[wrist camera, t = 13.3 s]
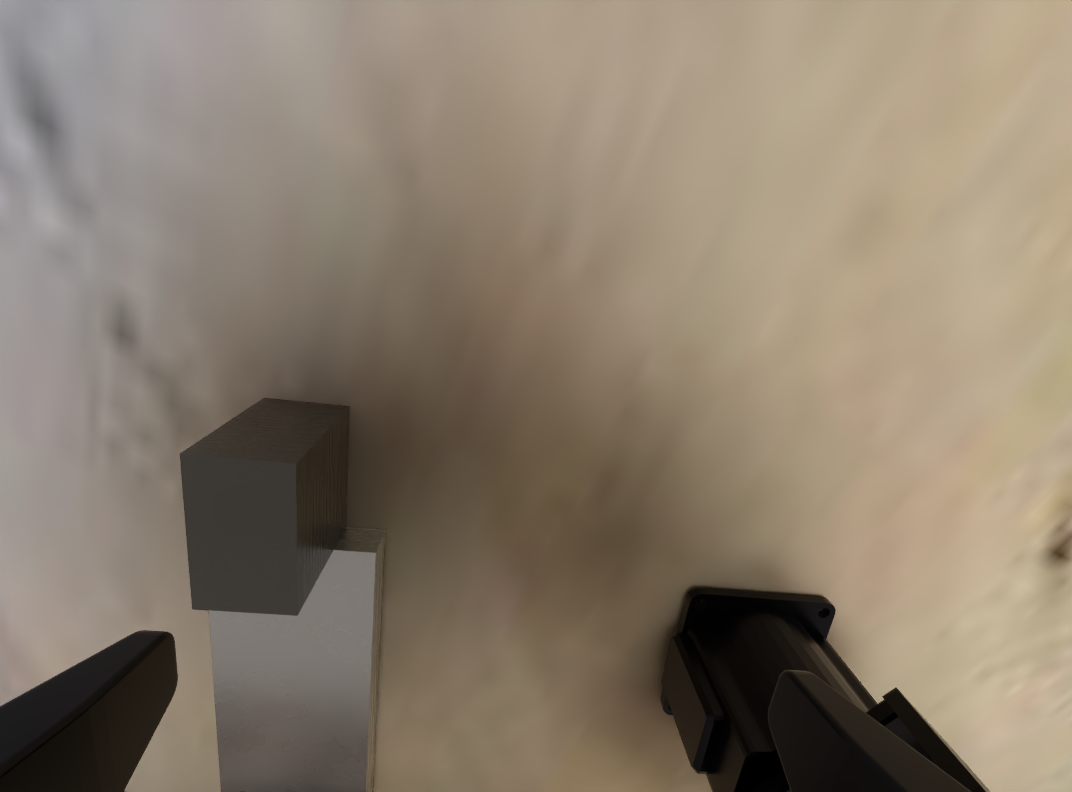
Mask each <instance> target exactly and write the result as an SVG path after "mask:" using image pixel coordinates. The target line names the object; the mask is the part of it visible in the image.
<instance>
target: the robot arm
mask: <svg viewBox="0 0 1072 792" xmlns="http://www.w3.org/2000/svg"><path fill="white" fill-rule="evenodd" d="M699 599H703V600H702V601H701V602H698V603H696V601H697V600H699ZM821 609H823V610H821ZM820 610H821V611H820ZM834 615H835V607H834V606H833V605H832V604H831V603H830V601H829V600H828V599H826V598H824V597H815V596H802V595H789V594H776V593H763V592H750V591H736V590H723V589H710V588H695V589H693V590H691V591H690V592H689V593H688V594H687V596H686V600H685V604H684V608H683V612H682V616H681V620H680V624H679V628H678V632H677V633H676V634H675V635H674V636H673V637H672V641H671V644H670V648H669V652H668V656H667V660H666V664H665V668H664V672H663V676H662V685H663V691H662V694H661V704H662V707H663V710H664V712H665V713H667V714H669V715H673V716H674V719H675V722H676V725H677V728H678V730H679V733H680V736H681V739H682V742H683V744H684V747H685V750H686V753H687V756H688V759H689V761H690V764H691V766H692V768H693V769H694V770H695V771H696V773H698V774H706V776H707V778H708V781H709V784H710V786H711V789H712V792H990V791H989V789H988V788H987V787H986V786H985V785H984V784H983V783H982V782H981V780H980V779H979V778H978V777H977V776H976V775H975V774H974V773H973V771H972V770H971V769H970V768H969V767H968V766H967V765H966V763H965V762H964V761H963V760H962V759H961V758H960V757H959V756H958V755H957V754H956V752H955V751H954V750H953V749H952V748H951V747H950V746H949V745H948V744H947V743H946V741H945V740H944V739H943V738H942V737H941V736H940V735H939V734H938V733H937V732H936V730H935V729H934V728H933V727H932V726H931V725H930V724H929V723H928V722H927V721H926V720H925V718H924V717H923V716H922V715H921V714H920V713H919V712H918V711H917V710H916V709H915V707H914V706H913V705H912V704H911V703H910V702H909V701H908V700H907V699H906V698H905V697H904V695H903V694H902V693H901V692H900V691H899V690H898V689H897V688H894V689H893V690H891V691H890V692H888V693H887V694H885V695H884V696H883V698H884V700H883V701H881V702H880V703H879V704H877V702H876V701H875V700H874V699H873V697H872V696H871V695H870V694H869V692H868V691H867V690H866V689H865V687H864V686H863V685H862V684H861V682H860V681H859V680H858V679H857V677H856V676H855V675H854V674H853V673H852V671H851V670H850V669H849V668H848V666H847V665H846V664H845V663H844V661H843V660H842V659H841V658H840V656H839V655H838V654H837V653H836V651H835V650H834V649H833V648H832V646H831V645H830V644H829V643H828V641H827V640H826V638H827V635H828V632H829V629H830V627H831V624H832V621H833V618H834ZM177 680H178V674H177V662H176V651H175V641H174V637H173V635H172V634H171V633H169V632H164V631H147V630H143V631H138V632H135V633H133V634H131V635H129V636H127V637H125V638H124V639H122V640H120V641H118V642H116V643H115V644H113V645H111V646H109V647H107V648H105V649H104V650H102V651H100V652H98V653H96V654H95V655H93V656H91V657H89V658H87V659H85V660H84V661H82V662H80V663H78V664H76V665H75V666H73V667H71V668H69V669H67V670H65V671H64V672H62V673H60V674H58V675H56V676H55V677H53V678H51V679H49V680H47V681H45V682H44V683H42V684H40V685H38V686H36V687H35V688H33V689H31V690H29V691H27V692H25V693H24V694H22V695H20V696H18V697H16V698H15V699H13V700H11V701H9V702H7V703H5V704H4V705H2V706H0V792H124V790H125V788H126V786H127V784H128V782H129V780H130V778H131V776H132V774H133V772H134V770H135V769H136V767H137V765H138V763H139V761H140V759H141V757H142V755H143V753H144V751H145V749H146V748H147V746H148V744H149V742H150V740H151V738H152V736H153V734H154V732H155V730H156V728H157V726H158V725H159V723H160V721H161V719H162V717H163V715H164V713H165V711H166V709H167V707H168V705H169V703H170V702H171V700H172V697H173V695H174V693H175V690H176V686H177Z"/></svg>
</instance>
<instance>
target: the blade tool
mask: <svg viewBox="0 0 1072 792" xmlns="http://www.w3.org/2000/svg"><path fill="white" fill-rule="evenodd" d="M348 446H349V406H341V405H331V404H321V403H311V402H301V401H290V400H280V399H270V398H263V399H262V400H260V401H259V402H257V403H256V404H254V405H253V406H251V407H250V408H248V409H247V410H245V411H244V412H242V413H241V414H239V415H238V416H236V417H235V418H233V419H232V420H230V421H229V422H227V423H226V424H224V425H222V426H221V427H219V428H218V429H216V430H215V431H213V432H212V433H210V434H209V435H207V436H206V437H204V438H203V439H201V440H200V441H198V442H197V443H195V444H194V445H192V446H191V447H189V448H188V449H186V450H185V451H183V452H182V453H180V461H181V474H182V486H183V498H184V511H185V523H186V536H187V548H188V561H189V573H190V586H191V598H192V609H194V610H209V623H210V638H211V652H212V667H213V681H214V696H215V710H216V724H217V739H218V753H219V768H220V782H221V792H373V778H374V757H375V736H376V715H377V694H378V673H379V652H380V632H381V611H382V590H383V569H384V548H385V529H373V528H360V527H347V488H348Z"/></svg>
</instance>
